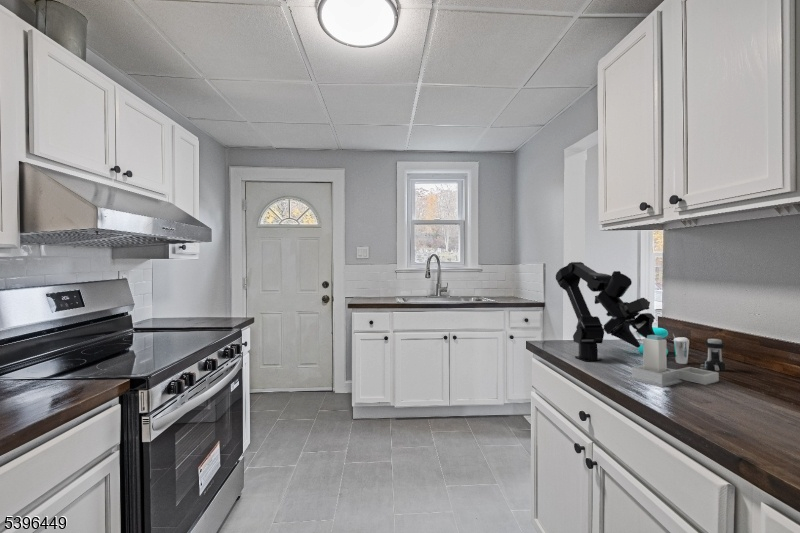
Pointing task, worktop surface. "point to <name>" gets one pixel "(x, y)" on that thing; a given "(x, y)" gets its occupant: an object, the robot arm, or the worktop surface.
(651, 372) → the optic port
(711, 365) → the black and grey device
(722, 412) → the worktop surface
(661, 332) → the donuts
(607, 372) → the worktop surface
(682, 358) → the milkshake
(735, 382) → the worktop surface
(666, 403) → the worktop surface
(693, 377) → the grey square tray
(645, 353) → the plug
